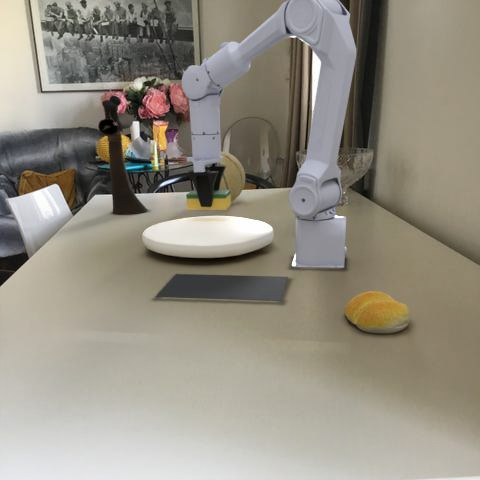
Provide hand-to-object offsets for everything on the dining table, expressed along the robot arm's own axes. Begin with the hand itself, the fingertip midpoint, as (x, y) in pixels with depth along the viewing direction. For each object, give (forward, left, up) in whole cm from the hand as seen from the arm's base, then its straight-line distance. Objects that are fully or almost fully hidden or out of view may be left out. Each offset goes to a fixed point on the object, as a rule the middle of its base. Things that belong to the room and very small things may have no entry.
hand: (209, 204), depth 115 cm
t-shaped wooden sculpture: (+31, -36, -9) cm, 49 cm away
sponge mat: (-8, +26, -9) cm, 29 cm away
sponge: (0, 0, -1) cm, 1 cm away
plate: (0, +2, -9) cm, 9 cm away
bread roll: (-32, +38, -9) cm, 50 cm away
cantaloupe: (+8, -48, -9) cm, 50 cm away
